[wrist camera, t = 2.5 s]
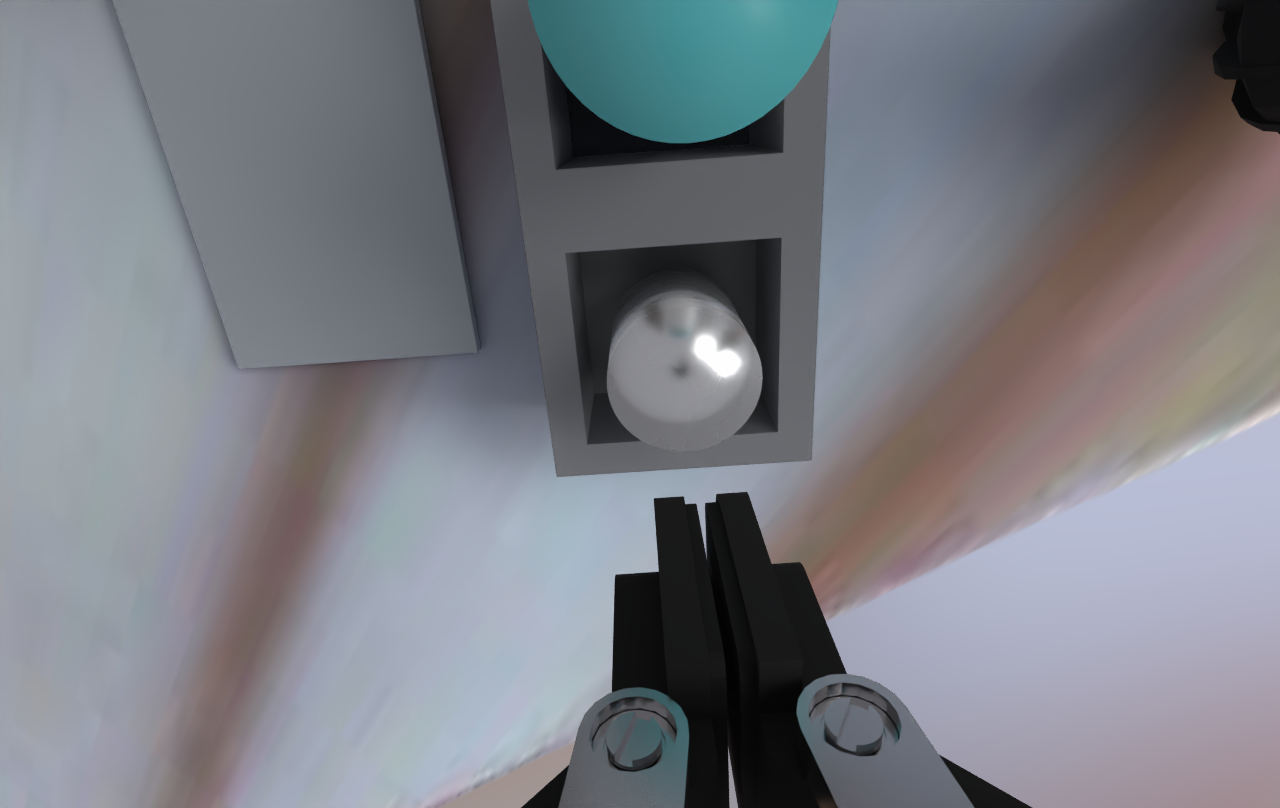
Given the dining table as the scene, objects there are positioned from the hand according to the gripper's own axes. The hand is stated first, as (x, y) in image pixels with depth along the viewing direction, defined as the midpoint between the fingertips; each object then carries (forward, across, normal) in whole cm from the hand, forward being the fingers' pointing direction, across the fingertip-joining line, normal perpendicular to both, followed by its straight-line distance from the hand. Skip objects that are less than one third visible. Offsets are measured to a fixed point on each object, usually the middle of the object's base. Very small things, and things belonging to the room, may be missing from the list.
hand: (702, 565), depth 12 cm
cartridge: (+16, 0, -10) cm, 19 cm away
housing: (+16, 0, -5) cm, 17 cm away
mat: (+17, +13, -6) cm, 22 cm away
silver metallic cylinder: (+12, 0, -1) cm, 13 cm away
